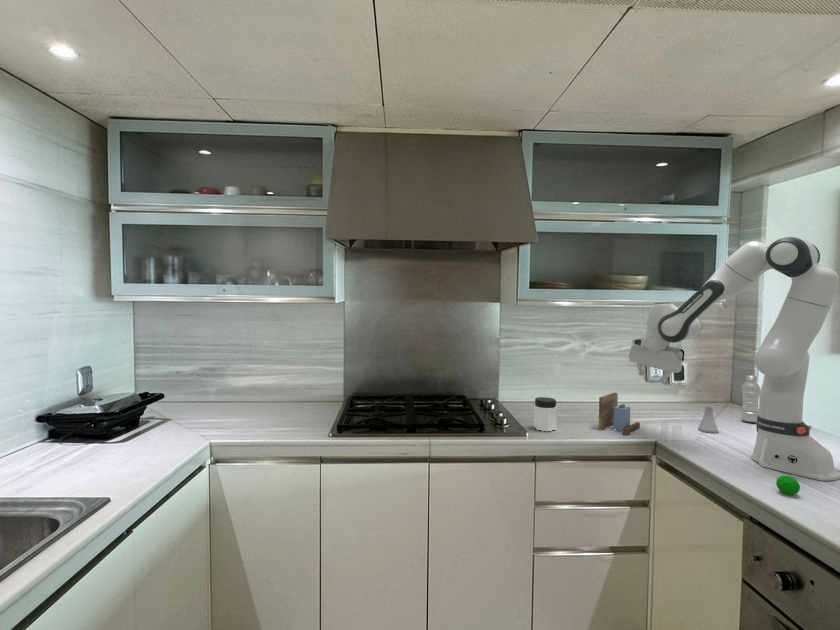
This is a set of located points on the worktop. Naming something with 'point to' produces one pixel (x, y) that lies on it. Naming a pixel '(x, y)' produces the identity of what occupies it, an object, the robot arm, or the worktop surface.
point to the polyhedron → (788, 485)
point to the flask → (708, 421)
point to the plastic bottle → (750, 399)
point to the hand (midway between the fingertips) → (652, 378)
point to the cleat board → (611, 413)
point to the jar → (545, 414)
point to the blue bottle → (621, 417)
